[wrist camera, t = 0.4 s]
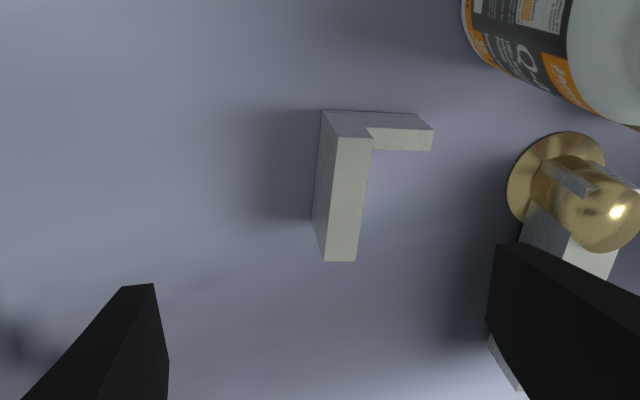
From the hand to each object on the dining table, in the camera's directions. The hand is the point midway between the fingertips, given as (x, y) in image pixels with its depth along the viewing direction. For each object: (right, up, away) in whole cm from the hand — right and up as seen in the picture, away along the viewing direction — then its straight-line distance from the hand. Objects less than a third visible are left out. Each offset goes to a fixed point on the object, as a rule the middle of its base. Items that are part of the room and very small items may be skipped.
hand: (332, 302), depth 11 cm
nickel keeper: (+1, +3, +10) cm, 11 cm away
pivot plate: (+10, +3, +12) cm, 16 cm away
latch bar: (+10, -1, +13) cm, 17 cm away
